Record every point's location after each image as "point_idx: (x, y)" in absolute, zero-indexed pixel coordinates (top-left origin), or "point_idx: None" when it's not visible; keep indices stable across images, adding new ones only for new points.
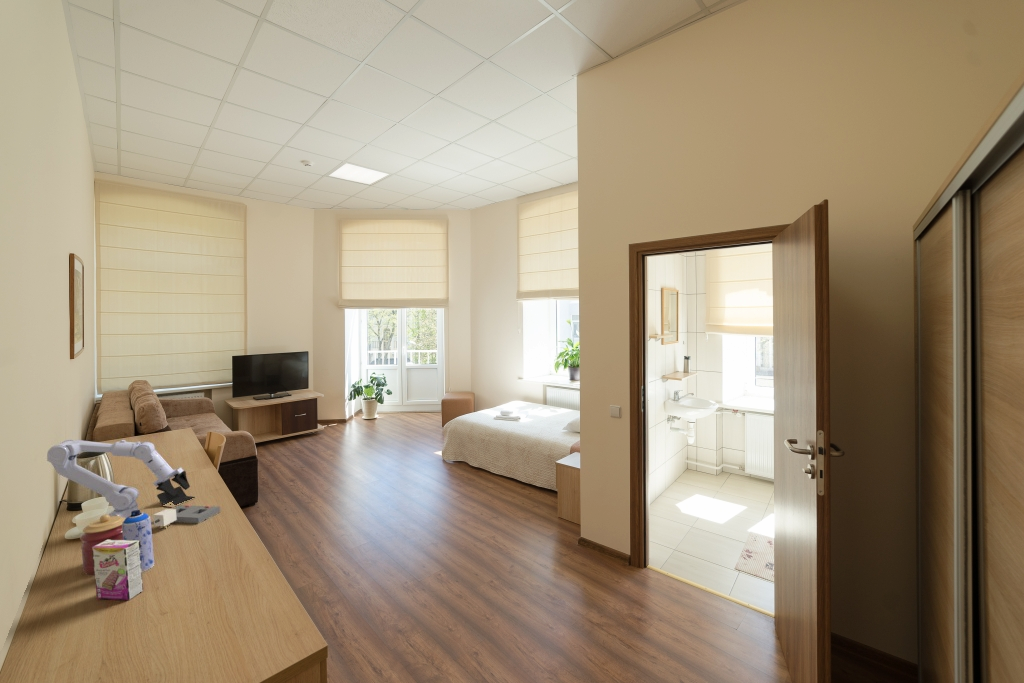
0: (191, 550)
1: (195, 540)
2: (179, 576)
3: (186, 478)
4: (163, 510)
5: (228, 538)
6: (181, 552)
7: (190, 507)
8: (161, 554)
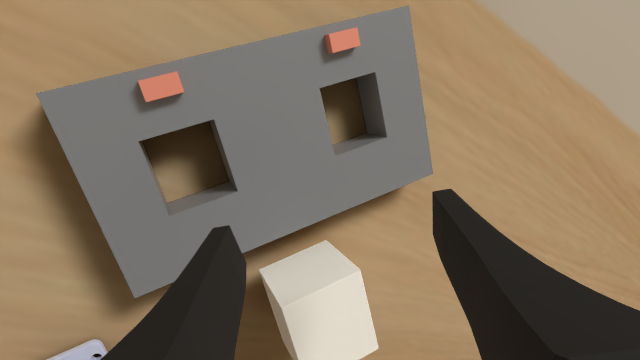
0: None
1: None
2: None
3: (533, 260)
4: (295, 327)
5: (606, 185)
6: None
7: (210, 93)
8: None
